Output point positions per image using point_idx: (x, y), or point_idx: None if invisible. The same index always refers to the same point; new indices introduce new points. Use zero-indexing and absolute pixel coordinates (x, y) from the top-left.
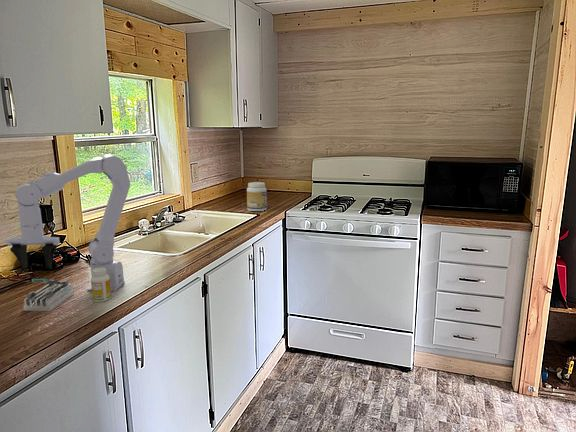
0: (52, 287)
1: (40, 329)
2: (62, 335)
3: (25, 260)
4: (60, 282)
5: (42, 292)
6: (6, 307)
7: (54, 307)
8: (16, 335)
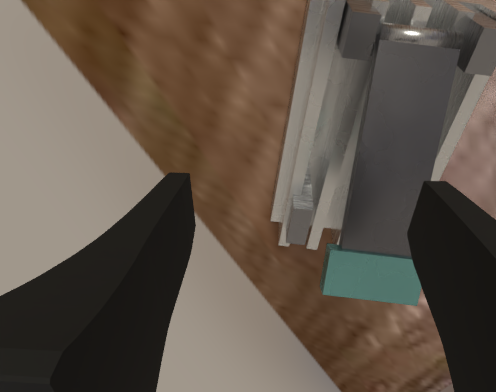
0: (368, 62)
1: (398, 328)
2: None
3: (171, 237)
4: (449, 86)
5: (339, 170)
6: (165, 166)
7: None
8: (336, 345)
